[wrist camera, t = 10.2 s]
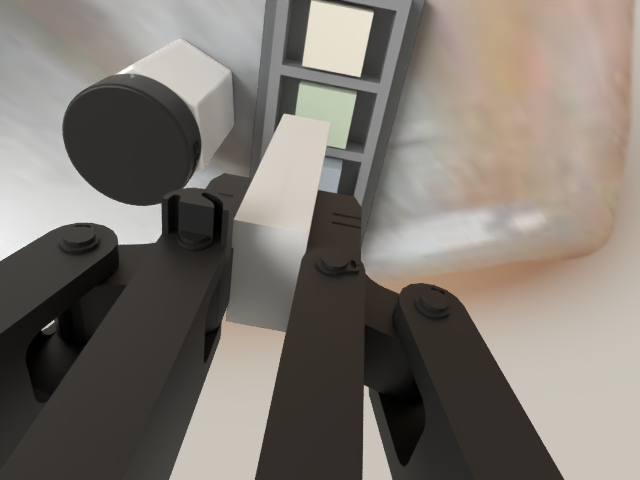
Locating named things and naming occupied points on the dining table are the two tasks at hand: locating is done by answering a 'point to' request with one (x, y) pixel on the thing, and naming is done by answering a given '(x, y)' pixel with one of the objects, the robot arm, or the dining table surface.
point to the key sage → (327, 108)
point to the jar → (150, 124)
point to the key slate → (330, 174)
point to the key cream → (337, 37)
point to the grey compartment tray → (372, 86)
